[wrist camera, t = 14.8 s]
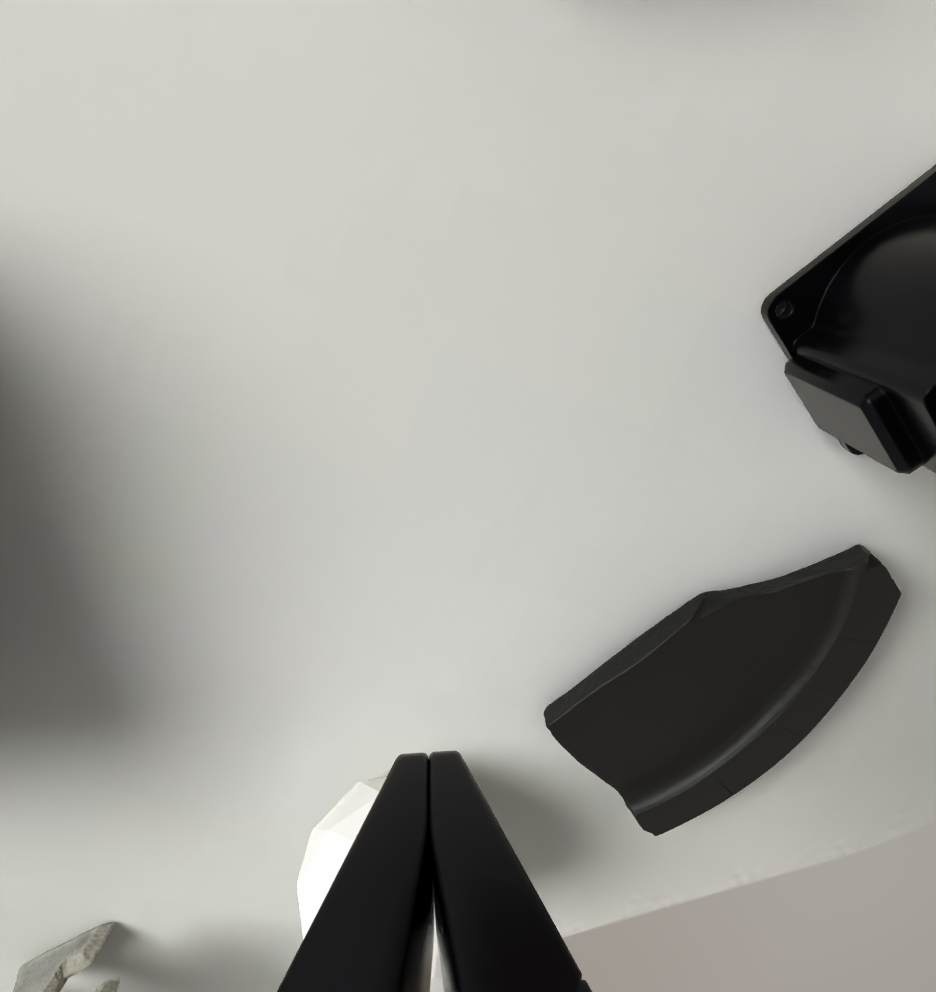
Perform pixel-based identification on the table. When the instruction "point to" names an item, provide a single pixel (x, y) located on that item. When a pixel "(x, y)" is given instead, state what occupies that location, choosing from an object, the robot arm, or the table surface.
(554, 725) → the dark sector wedge
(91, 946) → the cross
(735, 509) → the table surface
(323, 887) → the geometric ball
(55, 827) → the table surface
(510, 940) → the robot arm
